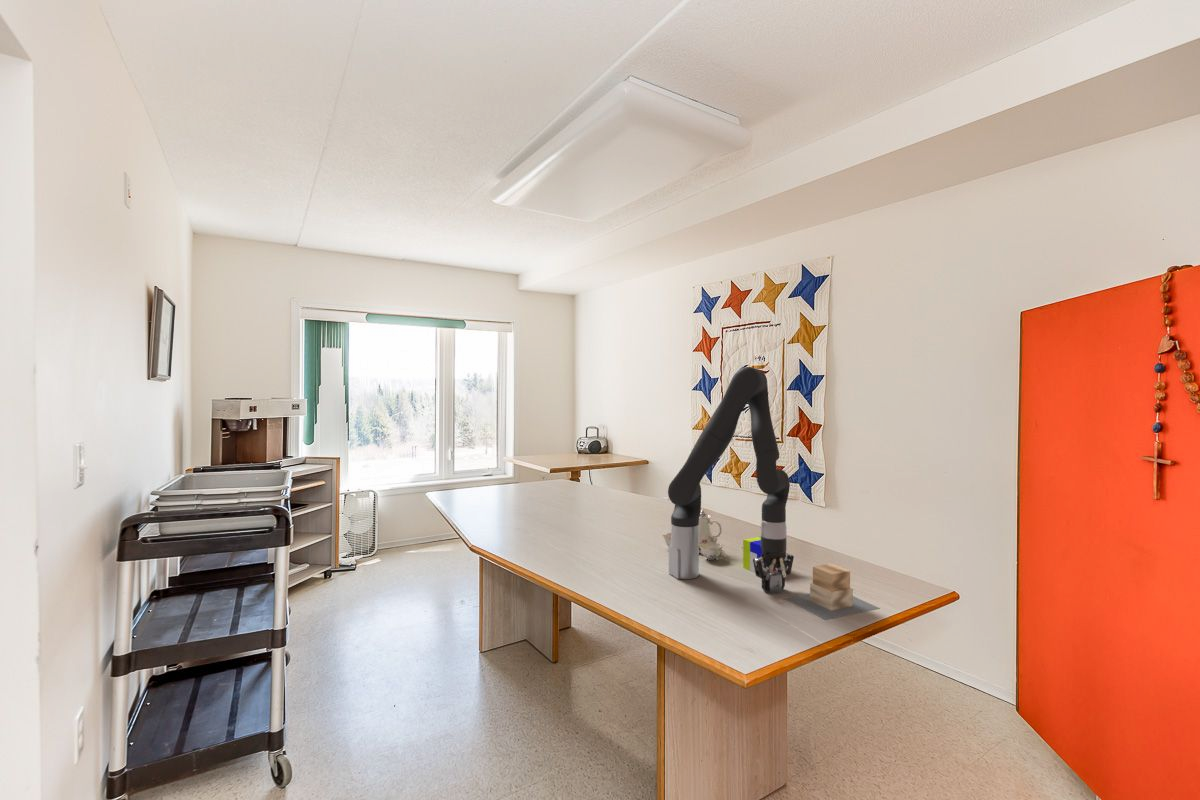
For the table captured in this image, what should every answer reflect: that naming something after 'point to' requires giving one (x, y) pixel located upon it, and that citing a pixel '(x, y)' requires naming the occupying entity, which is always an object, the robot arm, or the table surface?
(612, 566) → the table surface
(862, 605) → the slate mat
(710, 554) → the chinaware
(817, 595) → the base block
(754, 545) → the puzzle toy
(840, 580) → the top block
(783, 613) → the table surface
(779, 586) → the metal cylinder
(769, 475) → the robot arm
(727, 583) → the table surface
